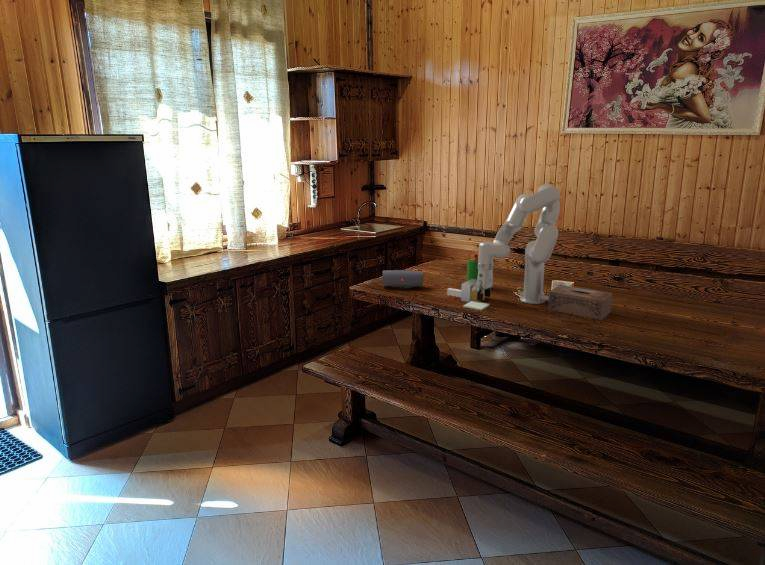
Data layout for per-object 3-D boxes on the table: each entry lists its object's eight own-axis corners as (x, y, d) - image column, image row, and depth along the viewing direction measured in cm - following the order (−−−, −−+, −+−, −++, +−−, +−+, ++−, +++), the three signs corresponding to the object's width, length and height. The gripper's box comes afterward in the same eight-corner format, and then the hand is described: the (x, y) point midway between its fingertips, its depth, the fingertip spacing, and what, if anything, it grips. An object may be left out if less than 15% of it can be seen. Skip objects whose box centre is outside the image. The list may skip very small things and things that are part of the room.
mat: (489, 305, 278) (489, 304, 277) (481, 310, 270) (481, 309, 269) (471, 302, 283) (471, 300, 283) (463, 307, 275) (463, 305, 275)
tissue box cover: (610, 313, 266) (612, 293, 264) (601, 320, 255) (603, 300, 253) (558, 303, 282) (560, 284, 279) (547, 310, 271) (549, 291, 268)
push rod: (474, 298, 290) (474, 292, 289) (472, 299, 288) (472, 293, 287) (449, 294, 298) (449, 288, 297) (447, 295, 296) (447, 289, 295)
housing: (480, 296, 294) (481, 280, 291) (469, 302, 283) (470, 285, 281) (471, 294, 296) (472, 278, 294) (460, 300, 286) (461, 283, 284)
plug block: (484, 299, 288) (484, 290, 287) (480, 301, 284) (480, 292, 283) (475, 298, 291) (476, 289, 289) (471, 300, 287) (471, 291, 286)
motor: (484, 285, 315) (485, 251, 310) (485, 289, 307) (487, 254, 301) (466, 284, 316) (467, 250, 311) (467, 289, 308) (468, 254, 302)
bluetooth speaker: (381, 289, 308) (381, 271, 305) (383, 284, 317) (383, 268, 314) (422, 290, 305) (422, 273, 303) (423, 286, 314) (423, 269, 312)
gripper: (485, 270, 272) (483, 303, 276) (498, 263, 286) (497, 295, 290) (471, 268, 276) (469, 301, 280) (485, 262, 290) (483, 293, 294)
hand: (483, 298), depth 285 cm, fingers open, 8 cm apart
